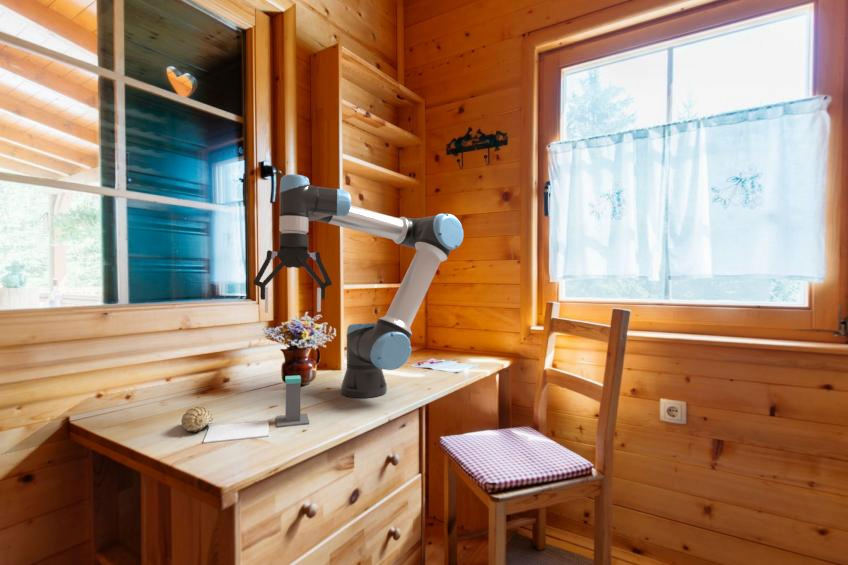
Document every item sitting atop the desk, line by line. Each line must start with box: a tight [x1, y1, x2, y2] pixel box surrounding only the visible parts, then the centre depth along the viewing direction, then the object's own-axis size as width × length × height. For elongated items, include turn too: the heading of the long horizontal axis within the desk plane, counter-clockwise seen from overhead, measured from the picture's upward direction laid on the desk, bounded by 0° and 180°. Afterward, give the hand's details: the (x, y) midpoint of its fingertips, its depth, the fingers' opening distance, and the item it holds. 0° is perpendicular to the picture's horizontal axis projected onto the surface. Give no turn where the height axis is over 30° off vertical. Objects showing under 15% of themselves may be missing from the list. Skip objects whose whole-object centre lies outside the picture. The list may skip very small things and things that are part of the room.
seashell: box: [180, 406, 213, 433], centre depth 108 cm, size 8×6×10 cm
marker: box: [284, 374, 302, 422], centre depth 115 cm, size 4×4×11 cm
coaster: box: [275, 413, 310, 428], centre depth 115 cm, size 8×8×1 cm
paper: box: [202, 420, 270, 444], centre depth 106 cm, size 14×11×1 cm
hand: (293, 311), depth 117 cm, fingers open, 13 cm apart
